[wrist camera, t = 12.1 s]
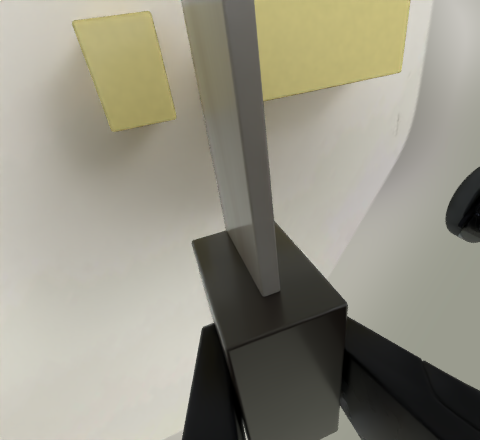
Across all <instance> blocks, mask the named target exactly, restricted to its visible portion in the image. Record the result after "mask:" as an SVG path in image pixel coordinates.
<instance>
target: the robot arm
mask: <svg viewBox="0 0 480 440" xmlns="http://www.w3.org/2000/svg"><path fill="white" fill-rule="evenodd" d="M458 228H460V229H462V230H464V231H466V232H468V233H470V234H472V235H474V236H476V237H478V238H480V196H479V197H478V199H477V200H476V201H475V203H474V204H473V205H472V206H471V208H470V209H469V210H468V212H467V213H466V214H465V215H464V217H463V218H462V219H461V221H460V222H459V224H458ZM340 406H341V408H342V409H343V411H344V412H345V414H346V415H347V417H348V419H349V420H350V422H351V423H352V425H353V427H354V429H355V430H356V432H357V433H358V435H359V436H360V438H361V440H480V391H479V390H477V389H475V388H473V387H471V386H469V385H467V384H465V383H464V382H462V381H460V380H458V379H456V378H454V377H453V376H451V375H449V374H447V373H445V372H444V371H442V370H440V369H438V368H436V367H435V366H433V365H431V364H430V363H428V362H426V361H422V360H421V358H419V357H417V356H415V355H414V354H412V353H410V352H409V351H407V350H405V349H403V348H402V347H400V346H398V345H396V344H395V343H393V342H391V341H389V340H388V339H386V338H384V337H382V336H381V335H379V334H377V333H375V332H374V331H372V330H370V329H368V328H367V327H365V326H363V325H362V324H360V323H358V322H356V321H355V320H353V319H351V318H349V317H348V316H347V323H346V335H345V348H344V360H343V372H342V384H341V397H340ZM182 440H246V438H245V432H244V426H243V421H242V416H241V413H240V409H239V405H238V402H237V398H236V394H235V391H234V387H233V383H232V380H231V376H230V372H229V369H228V366H227V362H226V359H225V356H224V353H223V349H222V346H221V343H220V340H219V336H218V333H217V330H216V326H215V323H212V324H209V325H207V326H204V327H203V328H202V331H201V337H200V342H199V348H198V353H197V359H196V364H195V370H194V375H193V381H192V387H191V392H190V398H189V403H188V409H187V414H186V420H185V425H184V431H183V436H182Z"/></svg>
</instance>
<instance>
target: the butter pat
mask: <svg viewBox="0 0 480 440" xmlns="http://www.w3.org/2000/svg"><path fill="white" fill-rule="evenodd" d="M72 25H73V28H74V31H75V33H76V36H77V39H78V41H79V44H80V47H81V50H82V52H83V55H84V58H85V60H86V63H87V66H88V69H89V71H90V74H91V77H92V80H93V82H94V85H95V88H96V90H97V93H98V96H99V99H100V101H101V104H102V107H103V109H104V112H105V115H106V118H107V120H108V123H109V126H110V129H111V131H112V132H117V131H122V130H127V129H132V128H137V127H141V126H146V125H151V124H156V123H161V122H166V121H170V120H175V119H176V117H177V116H176V112H175V108H174V104H173V100H172V96H171V92H170V88H169V84H168V80H167V76H166V72H165V67H164V63H163V59H162V55H161V51H160V47H159V43H158V39H157V35H156V31H155V27H154V23H153V19H152V15H151V13H150V12H149V11H144V12H136V13H128V14H120V15H113V16H105V17H97V18H89V19H81V20H74V21H73V22H72Z"/></svg>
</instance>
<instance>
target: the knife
mask: <svg viewBox="0 0 480 440" xmlns="http://www.w3.org/2000/svg"><path fill="white" fill-rule="evenodd" d="M181 3H182V8H183V13H184V18H185V23H186V28H187V34H188V39H189V44H190V49H191V54H192V59H193V64H194V69H195V74H196V79H197V85H198V90H199V95H200V100H201V105H202V110H203V115H204V120H205V125H206V131H207V136H208V141H209V146H210V151H211V156H212V161H213V166H214V171H215V177H216V182H217V187H218V192H219V197H220V202H221V207H222V212H223V217H224V223H225V228H226V230H227V231H223V232H220V233H216V234H213V235H210V236H206V237H203V238H199V239H196V240H193V241H192V246H193V250H194V254H195V257H196V261H197V264H198V268H199V272H200V275H201V279H202V282H203V286H204V290H205V293H206V297H207V300H208V304H209V308H210V311H211V315H212V318H213V322H214V323H215V326H216V330H217V333H218V336H219V340H220V343H221V346H222V349H223V353H224V356H225V359H226V362H227V366H228V369H229V372H230V376H231V380H232V383H233V387H234V391H235V394H236V398H237V402H238V405H239V409H240V413H241V416H242V421H243V425H244V428H245V432H246V435H247V438H248V440H320V439H322V438H324V437H326V436H328V435H330V434H332V433H334V432H336V431H337V430H338V421H339V408H340V397H341V384H342V372H343V360H344V348H345V335H346V323H347V311H348V305H347V302H346V301H345V300H344V299H343V298H342V297H341V295H340V294H339V293H338V292H337V291H336V290H335V289H334V288H333V287H332V285H331V284H330V283H329V282H328V281H327V280H326V278H325V277H324V276H323V275H322V274H321V273H320V272H319V271H318V269H317V268H316V267H315V266H314V265H313V264H312V263H311V262H310V260H309V259H308V258H307V257H306V256H305V255H304V254H303V253H302V251H301V250H300V249H299V248H298V247H297V246H296V245H295V244H294V242H293V241H292V240H291V239H290V238H289V237H288V236H287V235H286V233H285V232H284V231H283V230H282V229H281V228H280V227H279V225H278V224H277V223H276V222H275V221H274V215H273V204H272V193H271V182H270V171H269V159H268V148H267V137H266V126H265V115H264V104H263V93H262V82H261V71H260V59H259V48H258V37H257V26H256V15H255V4H254V0H181Z"/></svg>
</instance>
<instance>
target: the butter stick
mask: <svg viewBox="0 0 480 440" xmlns="http://www.w3.org/2000/svg"><path fill="white" fill-rule="evenodd" d="M254 4H255V15H256V26H257V37H258V48H259V59H260V71H261V82H262V93H263V101H268V100H273V99H278V98H283V97H287V96H292V95H297V94H301V93H306V92H311V91H316V90H320V89H325V88H330V87H335V86H339V85H344V84H349V83H354V82H358V81H363V80H368V79H372V78H377V77H382V76H387V75H391V74H396V73H400V72H401V69H402V62H403V54H404V46H405V38H406V30H407V23H408V15H409V7H410V0H254Z"/></svg>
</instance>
